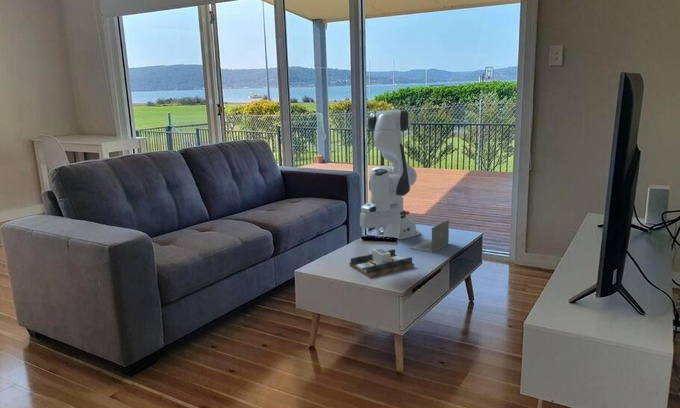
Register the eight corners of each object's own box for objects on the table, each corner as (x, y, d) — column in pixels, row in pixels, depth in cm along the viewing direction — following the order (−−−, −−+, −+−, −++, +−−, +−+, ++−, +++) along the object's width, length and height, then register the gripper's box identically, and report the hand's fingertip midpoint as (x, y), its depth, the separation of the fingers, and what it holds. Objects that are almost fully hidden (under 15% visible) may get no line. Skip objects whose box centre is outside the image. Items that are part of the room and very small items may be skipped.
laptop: (427, 240, 269) (427, 216, 266) (448, 243, 261) (449, 219, 258) (410, 249, 255) (410, 224, 252) (432, 253, 248) (432, 228, 245)
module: (380, 257, 236) (380, 247, 235) (390, 263, 228) (390, 252, 227) (372, 259, 234) (372, 248, 233) (382, 265, 226) (381, 254, 225)
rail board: (392, 256, 245) (392, 248, 244) (414, 266, 229) (414, 258, 228) (349, 265, 234) (349, 257, 233) (369, 277, 218) (369, 268, 218)
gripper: (395, 201, 232) (395, 229, 235) (357, 207, 223) (358, 236, 226) (403, 203, 227) (403, 232, 230) (364, 209, 218) (365, 240, 221)
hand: (380, 234), depth 228 cm, fingers closed
